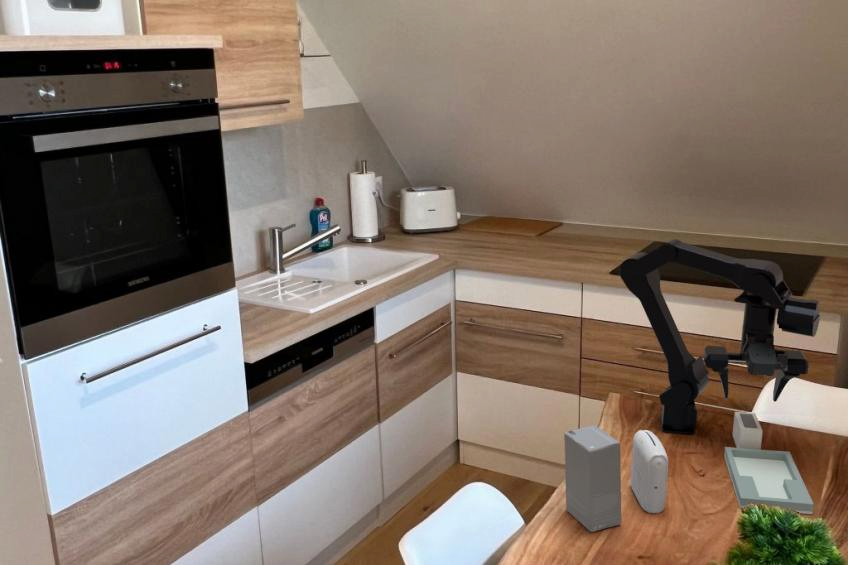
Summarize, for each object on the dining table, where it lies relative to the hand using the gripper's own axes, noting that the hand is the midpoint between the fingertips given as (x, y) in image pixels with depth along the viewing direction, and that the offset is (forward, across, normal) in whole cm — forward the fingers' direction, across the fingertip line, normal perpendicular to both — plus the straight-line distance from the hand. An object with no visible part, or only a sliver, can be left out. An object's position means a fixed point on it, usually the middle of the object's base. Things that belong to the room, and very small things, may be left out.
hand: (750, 399), depth 165 cm
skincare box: (+10, -31, -32) cm, 46 cm away
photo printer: (+10, -21, -24) cm, 34 cm away
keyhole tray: (+10, +1, -15) cm, 18 cm away
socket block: (+10, 0, 0) cm, 10 cm away
